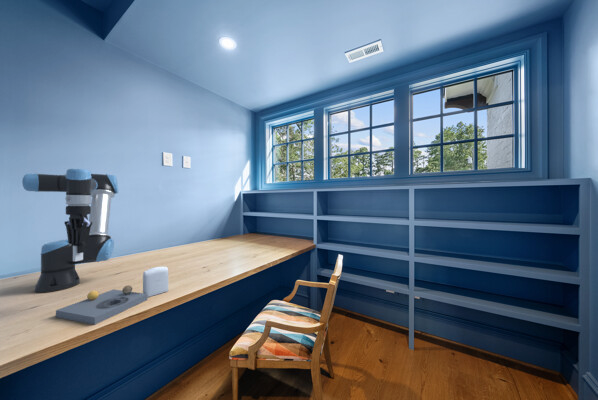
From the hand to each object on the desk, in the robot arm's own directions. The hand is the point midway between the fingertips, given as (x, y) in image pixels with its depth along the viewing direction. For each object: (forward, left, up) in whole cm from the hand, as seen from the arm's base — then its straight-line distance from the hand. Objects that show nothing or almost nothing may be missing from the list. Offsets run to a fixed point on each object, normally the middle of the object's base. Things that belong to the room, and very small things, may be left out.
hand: (77, 260), depth 92 cm
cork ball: (+17, +8, -14) cm, 23 cm away
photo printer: (+24, +16, -18) cm, 34 cm away
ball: (+9, 0, -14) cm, 17 cm away
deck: (+16, 0, -18) cm, 24 cm away
